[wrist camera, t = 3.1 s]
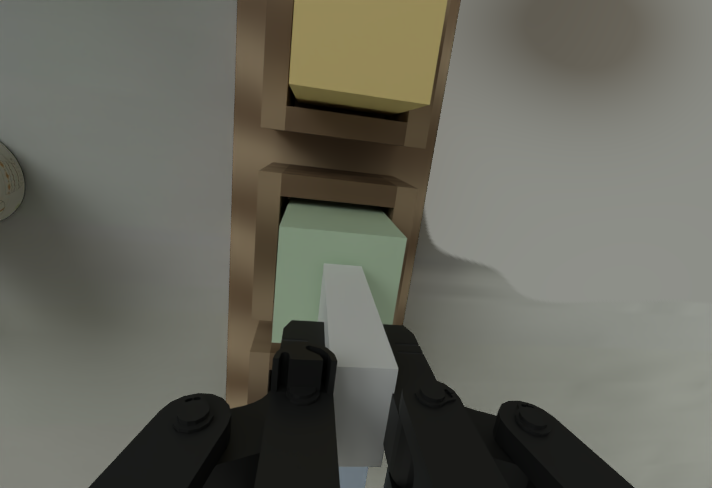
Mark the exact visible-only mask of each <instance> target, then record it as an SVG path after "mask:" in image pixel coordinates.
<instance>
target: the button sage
mask: <svg viewBox="0 0 712 488" xmlns="http://www.w3.org/2000/svg"><path fill="white" fill-rule="evenodd" d="M406 242H407V238H406V236H405V235H404V234H403V233H402V232H401V231H400V230H399V229H398V228H397V227H396V225H395V224H394V223H393V222H392V221H391V220H390V219H389V218H388V217H387V216H386V214H385V213H384V212H383V211H382V210H381V209H380V208H379V207H378V206H372V205H363V204H353V203H343V202H334V201H324V200H315V199H305V198H296V197H291V198H290V201H289V203H288V206H287V208H286V211H285V213H284V216H283V218H282V221H281V223H280V226H279V238H278V253H277V268H276V283H275V298H274V313H273V328H272V343H281V340H282V334H283V328H284V327H285V326H286V325H287V324H288V323H289V322H290V321H291V320H300V321H317V322H318V313H319V304H320V294H321V285H322V275H323V266H324V263H327V264H340V265H352V266H362V269H363V271H364V274H365V277H366V280H367V283H368V285H369V288H370V291H371V294H372V297H373V299H374V302H375V305H376V308H377V310H378V313H379V316H380V319H381V322H382V324H389V325H392V324H393V318H394V312H395V307H396V301H397V295H398V289H399V283H400V277H401V271H402V265H403V259H404V253H405V248H406Z"/></svg>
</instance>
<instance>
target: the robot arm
mask: <svg viewBox="0 0 712 488" xmlns="http://www.w3.org/2000/svg"><path fill="white" fill-rule="evenodd" d="M384 450H385V455H386V459H387V464H388V468H387V473H386V478H385V484H384V488H634V487H633V486H632V485H631V484H630V483H628V482H627V481H626V480H625V479H624V478H623V477H622V476H620V475H619V474H618V473H617V472H616V471H615V470H614V469H613V468H611V467H610V466H609V465H608V464H607V463H606V462H605V461H603V460H602V459H601V458H600V457H599V456H598V455H597V454H595V453H594V452H593V451H592V450H591V449H590V448H589V447H587V446H586V445H585V444H584V443H583V442H582V441H581V440H579V439H578V438H577V437H576V436H575V435H574V434H573V433H571V432H570V431H569V430H568V429H567V428H566V427H565V426H563V425H562V424H561V423H560V422H559V421H558V420H557V419H555V418H554V417H553V416H552V415H550V414H549V413H547V412H546V411H545V410H543V409H541V408H539V407H537V406H534V405H533V404H529V403H526V402H521V401H508V402H505V403H503V404H502V405H501V407H500V409H499V411H498V414H497V416H495V415H491V414H488V413H484V412H480V411H476V410H473V409H470V408H467V407H464V405H463V403H462V401H461V399H460V398H459V396H458V395H457V394H456V393H455V392H454V390H452V389H451V388H450V387H448V386H447V385H445V384H443V383H441V382H438V381H437V380H436V378H435V376H434V374H433V372H432V370H431V368H430V366H429V364H428V362H427V360H426V358H425V356H424V354H422V350H421V348H420V346H418V342H417V340H416V338H415V336H414V334H413V333H411V332H410V331H409V330H408V329H407V328H406V327H404V326H403V325H389V324H382V322H381V319H380V316H379V313H378V310H377V308H376V305H375V302H374V299H373V297H372V294H371V291H370V288H369V285H368V283H367V280H366V277H365V274H364V271H363V269H362V266H352V265H340V264H327V263H324V266H323V275H322V285H321V294H320V304H319V313H318V322H317V321H300V320H291V321H290V322H289V323H288V324H287V325H286V326H285V327H284V328H283V334H282V340H281V346H280V349H279V350H278V351H276V353H275V355H274V357H273V363H272V377H271V390H270V391H269V393H268V394H267V395H265V396H264V397H263V398H262V399H260V400H258V401H256V402H254V403H251V404H248V405H244V406H240V407H235V408H231V409H230V406H229V404H228V403H227V402H226V401H225V400H224V399H223V398H221V397H218V396H216V395H213V394H202V393H198V394H192V395H187V396H183V397H181V398H179V399H177V400H174V401H172V402H170V403H169V404H168V405H167V406H165V407H164V408H163V409H162V410H160V411H159V412H158V413H157V415H156V416H155V417H154V418H153V419H152V420H151V421H150V422H149V423H148V424H147V425H146V426H145V427H144V428H143V430H142V431H141V432H140V433H139V434H138V435H137V436H136V437H135V438H134V439H133V440H132V441H131V442H130V444H129V445H128V446H127V447H126V448H125V449H124V450H123V451H122V452H121V453H120V454H119V455H118V456H117V458H116V459H115V460H114V461H113V462H112V463H111V464H110V465H109V466H108V467H107V468H106V469H105V470H104V472H103V473H102V474H101V475H100V476H99V477H98V478H97V479H96V480H95V481H94V482H93V483H92V484H91V486H90V487H89V488H340V479H339V467H381V463H382V458H383V452H384Z"/></svg>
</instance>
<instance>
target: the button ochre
mask: <svg viewBox="0 0 712 488" xmlns="http://www.w3.org/2000/svg"><path fill="white" fill-rule="evenodd" d="M446 6H447V0H294V14H293V29H292V44H291V59H290V74H289V85H290V87H291V89H292V91H293V93H294V95H295V97H296V99H297V101H298V103H304V104H311V105H318V106H325V107H332V108H339V109H346V110H354V111H361V112H368V113H375V114H382V115H389V116H391V115H395V114H399V113H402V112H406V111H409V110H413V109H416V108H420V107H424V106H427V105H430V100H431V95H432V89H433V83H434V77H435V71H436V65H437V59H438V53H439V47H440V42H441V36H442V30H443V24H444V18H445V12H446Z"/></svg>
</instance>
